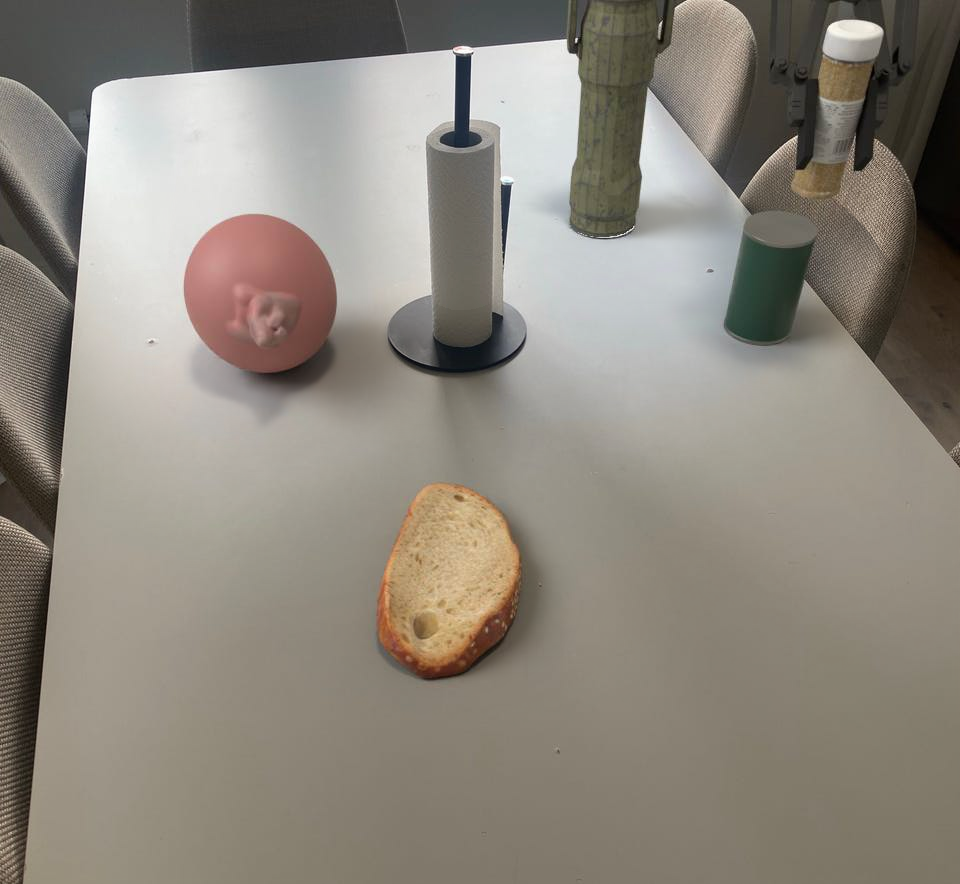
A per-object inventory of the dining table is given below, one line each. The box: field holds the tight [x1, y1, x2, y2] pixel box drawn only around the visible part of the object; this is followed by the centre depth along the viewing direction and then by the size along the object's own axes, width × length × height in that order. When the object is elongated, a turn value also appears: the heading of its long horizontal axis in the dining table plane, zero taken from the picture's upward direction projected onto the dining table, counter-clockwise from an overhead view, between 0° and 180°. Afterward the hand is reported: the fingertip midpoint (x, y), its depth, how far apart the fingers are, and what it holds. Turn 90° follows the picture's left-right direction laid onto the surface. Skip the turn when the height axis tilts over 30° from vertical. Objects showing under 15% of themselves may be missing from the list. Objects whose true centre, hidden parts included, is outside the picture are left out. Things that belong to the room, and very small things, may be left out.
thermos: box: [566, 0, 677, 237], centre depth 110 cm, size 9×12×35 cm
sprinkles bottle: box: [790, 19, 883, 201], centre depth 83 cm, size 5×5×14 cm
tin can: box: [723, 210, 819, 346], centre depth 102 cm, size 8×8×12 cm
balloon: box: [183, 213, 338, 374], centre depth 96 cm, size 15×20×15 cm
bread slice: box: [376, 482, 523, 680], centre depth 79 cm, size 18×18×4 cm
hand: (833, 163), depth 83 cm, fingers closed on sprinkles bottle, 4 cm apart
